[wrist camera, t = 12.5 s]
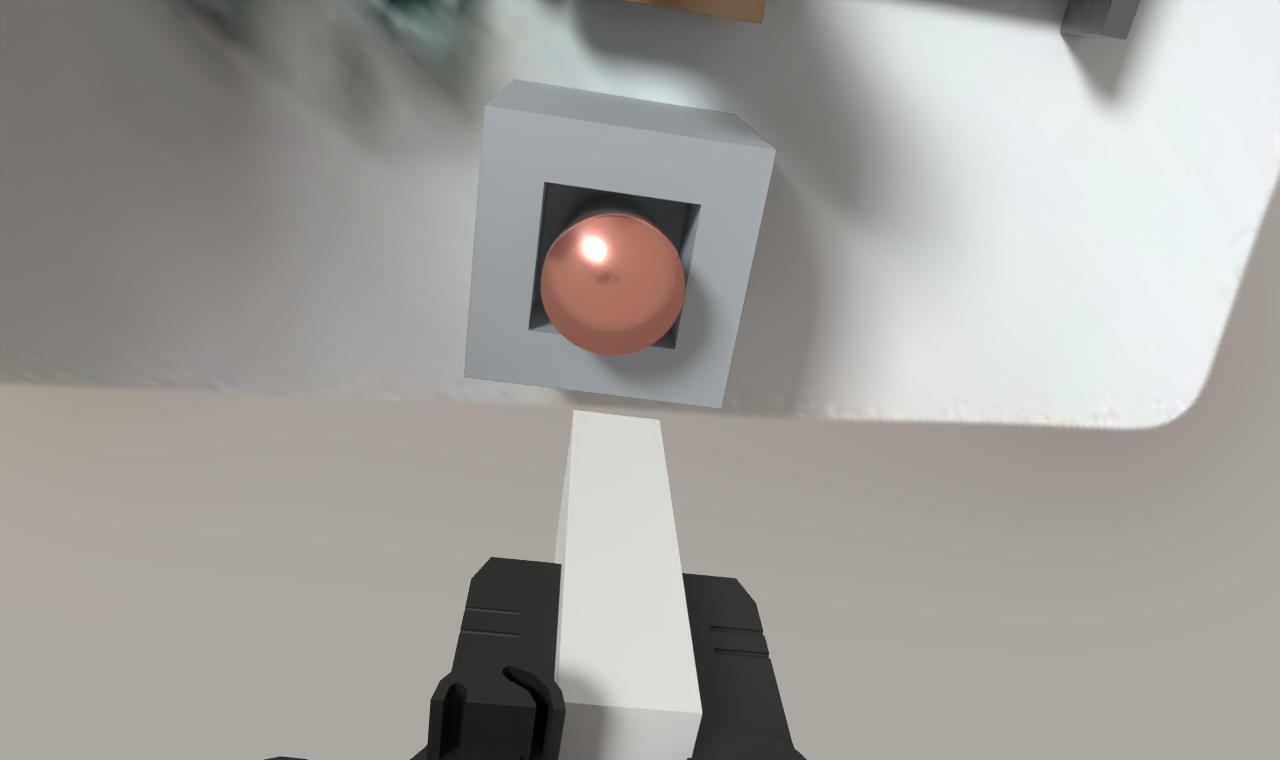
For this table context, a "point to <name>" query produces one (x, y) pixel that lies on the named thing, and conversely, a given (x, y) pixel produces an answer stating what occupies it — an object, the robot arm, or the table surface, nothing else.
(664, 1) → the carriage
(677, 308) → the plunger
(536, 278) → the housing
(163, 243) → the table surface
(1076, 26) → the rail
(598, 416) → the robot arm
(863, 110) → the table surface
